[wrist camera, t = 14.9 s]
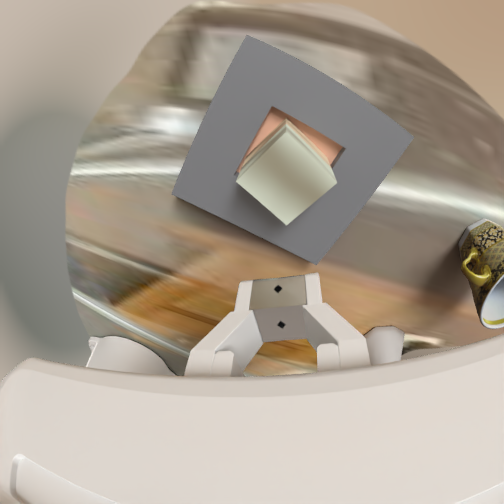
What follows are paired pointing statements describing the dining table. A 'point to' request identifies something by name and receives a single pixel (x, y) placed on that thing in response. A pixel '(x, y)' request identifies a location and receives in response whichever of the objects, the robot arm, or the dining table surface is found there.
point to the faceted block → (286, 172)
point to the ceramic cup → (485, 269)
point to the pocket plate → (310, 124)
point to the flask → (384, 344)
